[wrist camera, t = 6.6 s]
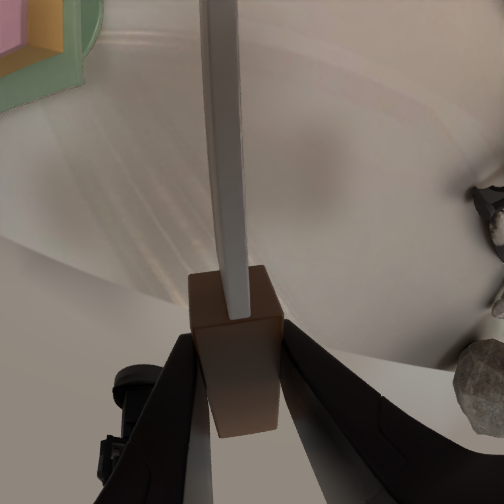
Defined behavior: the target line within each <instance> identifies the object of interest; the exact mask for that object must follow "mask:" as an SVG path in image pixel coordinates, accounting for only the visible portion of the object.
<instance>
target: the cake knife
mask: <svg viewBox="0 0 504 504" xmlns="http://www.w3.org/2000/svg"><path fill="white" fill-rule="evenodd" d="M199 5H200V34H201V57H202V77H203V94H204V110H205V125H206V139H207V153H208V165H209V177H210V189H211V200H212V211H213V221H214V232H215V241H216V251H217V257H218V262H219V268H220V270H218V271H211V272H203V273H195V274H190V275H189V276H188V295H189V317H190V329H191V334H192V338H193V342H194V347H195V351H196V353H197V356H198V360H199V364H200V368H201V372H202V376H203V380H204V384H205V388H206V393H207V397H208V401H209V405H210V408H211V412H212V415H213V419H214V422H215V425H216V429H217V432H218V436H219V438H228V437H235V436H241V435H248V434H254V433H259V432H265V431H270V430H275V429H277V426H278V413H279V412H278V411H279V398H280V379H279V377H280V359H281V342H282V340H283V328H284V312H283V310H282V308H281V305H280V303H279V300H278V298H277V295H276V293H275V290H274V288H273V285H272V283H271V281H270V278H269V276H268V273H267V271H266V268H265V266H264V265H257V266H249V267H248V247H247V225H246V203H245V180H244V158H243V134H242V110H241V86H240V61H239V36H238V9H237V0H199Z"/></svg>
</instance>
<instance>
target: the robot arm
mask: <svg viewBox="0 0 504 504" xmlns="http://www.w3.org/2000/svg"><path fill="white" fill-rule="evenodd" d="M279 379H280V383H281V387H282V390H283V394H284V398H285V401H286V404H287V406H288V409H289V411H290V414H291V416H292V419H293V421H294V424H295V426H296V429H297V431H298V434H299V436H300V439H301V441H302V444H303V446H304V449H305V451H306V454H307V456H308V459H309V461H310V463H311V466H312V468H313V470H314V473H315V476H316V478H317V480H318V483H319V485H320V487H321V490H322V492H323V495H324V497H325V499H326V502H327V504H504V455H490V454H482V453H477V452H474V451H471V450H468V449H466V448H464V447H462V446H460V445H458V444H456V443H454V442H453V441H451V440H449V439H447V438H446V437H444V436H442V435H440V434H439V433H437V432H435V431H434V430H432V429H430V428H428V427H427V426H425V425H423V424H422V423H420V422H419V421H417V420H415V419H414V418H412V417H411V416H409V415H408V414H406V413H405V412H404V411H402V410H401V409H400V408H398V407H397V406H395V405H394V404H393V403H391V402H390V401H389V400H388V399H386V398H385V397H384V396H381V394H380V393H379V392H377V391H376V390H375V389H373V388H372V387H371V386H370V385H368V384H367V383H366V382H365V381H363V380H362V379H361V378H360V377H358V376H357V375H356V374H355V373H353V372H352V371H351V370H350V369H348V368H347V367H346V366H345V365H343V364H342V363H341V362H340V361H338V360H337V359H336V358H335V357H333V356H332V355H331V354H330V353H328V352H327V351H326V350H325V349H324V348H323V347H321V346H320V345H319V344H318V343H316V342H315V341H314V340H313V339H312V338H310V337H309V336H308V335H307V334H305V333H304V332H303V331H302V330H301V329H299V328H298V327H297V326H296V325H295V324H293V323H292V322H291V321H290V320H288V319H284V328H283V340H282V342H281V359H280V377H279ZM112 393H113V394H114V396H115V397H116V399H117V400H118V402H119V403H120V405H121V406H122V407H123V409H122V425H121V426H122V427H121V438H119V437H113V436H112V435H107V439H106V440H103V441H101V446H100V457H99V464H98V471H97V477H98V478H99V480H100V481H101V482H102V483H103V486H104V488H103V490H102V491H101V493H100V494H99V496H98V497H97V499H96V501H95V502H94V503H93V504H213V491H212V472H211V449H210V422H209V421H210V420H209V406H208V399H207V393H206V388H205V384H204V380H203V376H202V372H201V368H200V364H199V360H198V356H197V353H196V351H195V347H194V342H193V338H192V334H191V333H187V334H181V335H180V336H179V337H178V339H177V341H176V343H175V345H174V347H173V349H172V351H171V353H170V355H169V357H168V360H167V361H166V363H165V365H164V367H163V369H162V371H161V373H160V376H159V378H158V380H157V382H156V384H145V385H132V386H115V387H113V388H112Z"/></svg>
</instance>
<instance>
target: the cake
mask: <svg viewBox="0 0 504 504" xmlns="http://www.w3.org/2000/svg"><path fill="white" fill-rule="evenodd" d="M63 52H64V49H63V0H0V78H2V77H4V76H6V75H8V74H10V73H12V72H14V71H17V70H19V69H21V68H24V67H26V66H28V65H31V64H33V63H36V62H38V61H41V60H44V59H46V58H49V57H52V56H55V55H57V54H60V53H63Z"/></svg>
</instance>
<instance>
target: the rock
mask: <svg viewBox="0 0 504 504" xmlns="http://www.w3.org/2000/svg"><path fill="white" fill-rule="evenodd" d="M453 387H454V390H455V394H456V397H457V401H458V403H459V405H460V407H461V409H462V411H463V413H464V414H465V415H466V416H467V417H468V419H469V421H470V423H471V426H472V428H473V430H474V431H475V432H476V433H477V434H485V435H489V436H494V437H498V438H504V343H502V342H500V341H498V340H496V339H493V338H492V339H487V340H481V341H476V342H473V343H472V344H470V345H469V346H468V347H467V348H466V349H465V350H463V351H462V352H461V353H460V356H459V359H458V363H457V367H456V371H455V375H454V379H453Z"/></svg>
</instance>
